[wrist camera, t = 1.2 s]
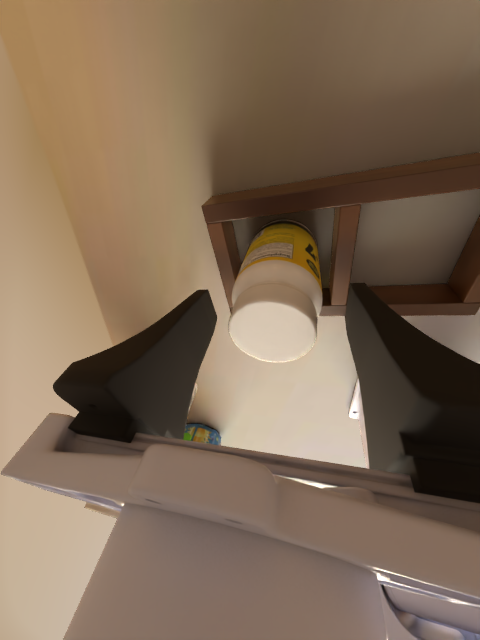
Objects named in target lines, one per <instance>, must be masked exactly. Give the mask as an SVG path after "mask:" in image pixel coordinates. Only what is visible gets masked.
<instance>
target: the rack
mask: <svg viewBox="0 0 480 640" xmlns="http://www.w3.org/2000/svg"><path fill="white" fill-rule="evenodd" d="M472 189H480V152H478V153H472V154H466V155H460V156H454V157H447V158H441V159H435V160H429V161H423V162H417V163H411V164H404V165H398V166H392V167H386V168H380V169H374V170H368V171H361V172H355V173H349V174H343V175H337V176H331V177H324V178H318V179H312V180H306V181H300V182H294V183H288V184H281V185H275V186H269V187H263V188H257V189H251V190H244V191H238V192H232V193H226V194H220V195H214V196H212V197H211V198H210V199H209V200H207V201H206V202H205V203H204V204H203V205H202V210H203V214H204V217H205V221H206V223H207V228H208V231H209V235H210V238H211V242H212V246H213V249H214V253H215V257H216V260H217V264H218V268H219V271H220V275H221V279H222V282H223V286H224V289H225V293H226V297H227V300H228V304H229V308H230V312H231V313H232V310H233V304H232V291H233V287H234V284H235V281H236V278H237V276H238V274H239V271H240V269H241V263H240V258H239V254H238V249H237V244H236V239H235V234H234V229H233V224H232V220H237V219H245V218H253V217H261V216H269V215H276V214H284V213H292V212H300V211H308V210H316V209H323V208H331V207H335V214H334V226H333V239H332V251H331V264H330V276H329V288H322V308H321V311H320V314H319V316H345V313H346V307H347V300H348V293H349V283H350V276H351V270H352V263H353V256H354V250H355V243H356V236H357V229H358V223H359V216H360V209H361V204H363V203H370V202H378V201H386V200H394V199H402V198H410V197H417V196H425V195H433V194H441V193H449V192H457V191H464V190H472ZM369 288H370V289H371V290H372V291H373V292H374V293H375V294H376V295H377V296H378V297H379V298H380V299H381V300H383V301H384V302H385V303H386V304H387V305H388V306H389V307H390V308H391V309H392V310H394V311H395V312H396V313H397V314H398V315H400V316H423V315H475V314H476V313H477V311H478V310H479V308H480V216H479V218H478V220H477V222H476V224H475V226H474V228H473V230H472V232H471V235H470V237H469V239H468V241H467V243H466V245H465V247H464V249H463V251H462V253H461V256H460V258H459V260H458V262H457V264H456V266H455V268H454V270H453V272H452V274H451V277H450V279H449V281H448V284H424V285H398V286H371V287H369Z"/></svg>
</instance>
